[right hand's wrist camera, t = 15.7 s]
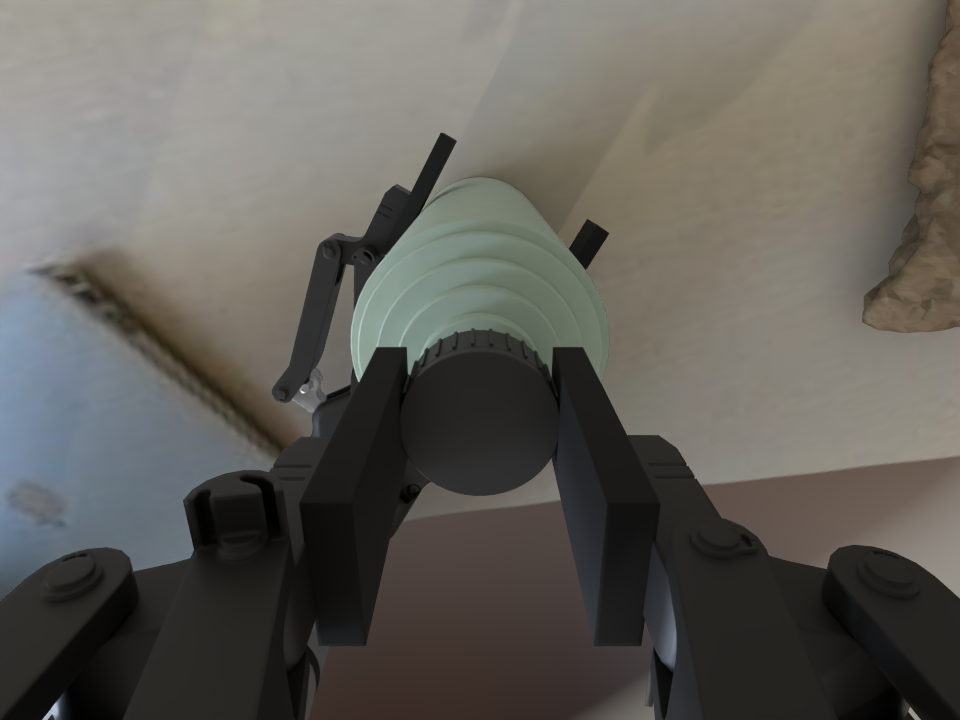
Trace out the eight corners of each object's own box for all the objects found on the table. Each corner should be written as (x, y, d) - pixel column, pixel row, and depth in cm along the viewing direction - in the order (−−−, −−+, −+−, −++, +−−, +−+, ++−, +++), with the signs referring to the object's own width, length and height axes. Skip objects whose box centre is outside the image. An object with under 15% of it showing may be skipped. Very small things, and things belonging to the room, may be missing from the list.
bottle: (528, 314, 38) (601, 577, 15) (408, 292, 37) (296, 531, 15) (556, 190, 35) (698, 285, 12) (426, 165, 35) (322, 214, 12)
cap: (565, 450, 15) (574, 483, 14) (424, 474, 15) (418, 510, 14) (541, 313, 14) (549, 334, 12) (387, 343, 14) (377, 366, 12)
